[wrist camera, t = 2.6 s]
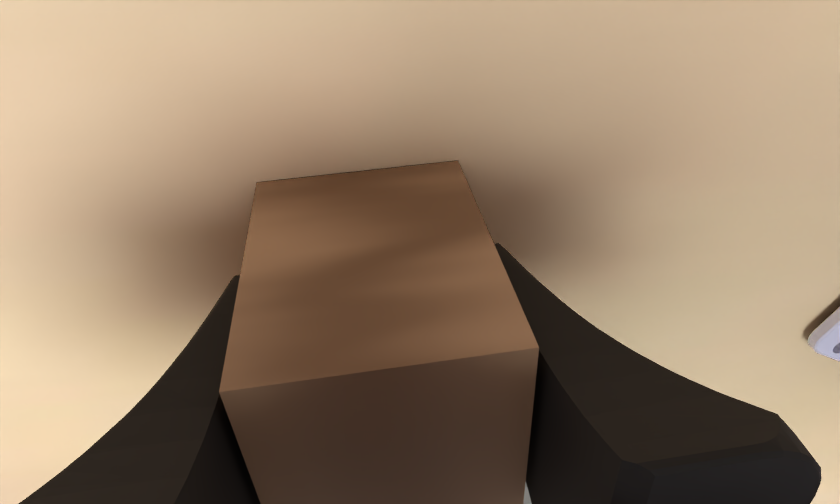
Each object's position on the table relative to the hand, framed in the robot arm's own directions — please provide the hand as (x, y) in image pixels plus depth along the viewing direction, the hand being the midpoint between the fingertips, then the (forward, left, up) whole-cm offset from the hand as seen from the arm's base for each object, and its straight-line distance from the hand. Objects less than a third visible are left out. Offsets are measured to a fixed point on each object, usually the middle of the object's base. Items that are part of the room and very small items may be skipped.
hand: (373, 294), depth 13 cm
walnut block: (0, 0, -2) cm, 2 cm away
